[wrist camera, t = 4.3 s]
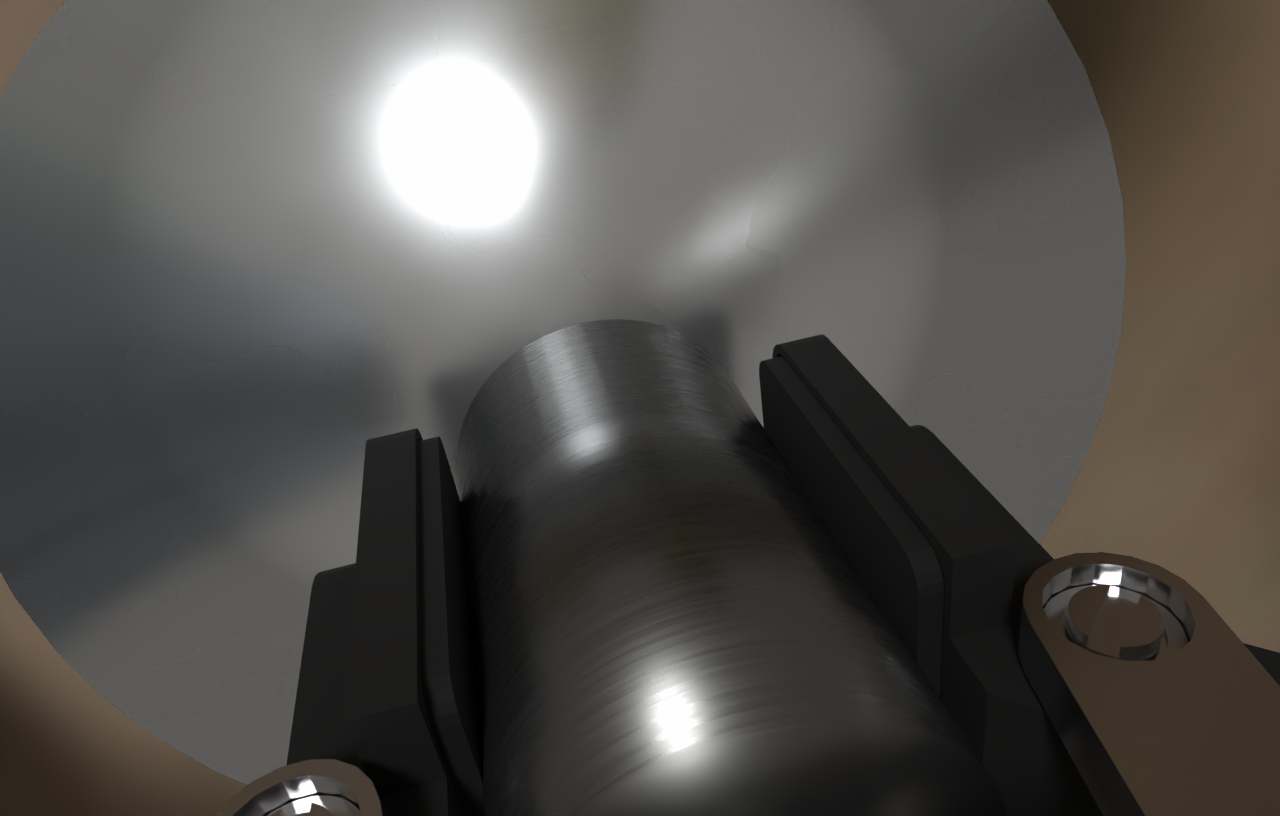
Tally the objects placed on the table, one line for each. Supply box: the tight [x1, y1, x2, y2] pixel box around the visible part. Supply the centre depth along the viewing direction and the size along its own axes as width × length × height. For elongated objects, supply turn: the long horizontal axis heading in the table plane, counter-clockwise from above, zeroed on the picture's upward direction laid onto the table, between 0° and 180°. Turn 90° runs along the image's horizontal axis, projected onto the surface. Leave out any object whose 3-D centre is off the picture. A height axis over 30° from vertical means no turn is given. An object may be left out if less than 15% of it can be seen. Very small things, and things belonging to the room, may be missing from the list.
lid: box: [0, 0, 1126, 816], centre depth 9 cm, size 14×14×7 cm
